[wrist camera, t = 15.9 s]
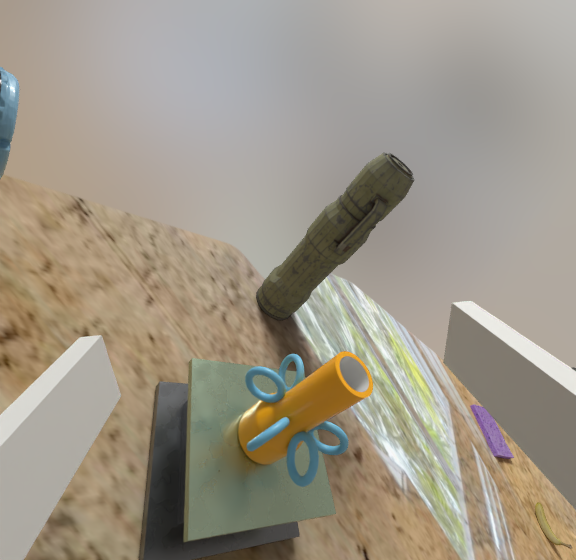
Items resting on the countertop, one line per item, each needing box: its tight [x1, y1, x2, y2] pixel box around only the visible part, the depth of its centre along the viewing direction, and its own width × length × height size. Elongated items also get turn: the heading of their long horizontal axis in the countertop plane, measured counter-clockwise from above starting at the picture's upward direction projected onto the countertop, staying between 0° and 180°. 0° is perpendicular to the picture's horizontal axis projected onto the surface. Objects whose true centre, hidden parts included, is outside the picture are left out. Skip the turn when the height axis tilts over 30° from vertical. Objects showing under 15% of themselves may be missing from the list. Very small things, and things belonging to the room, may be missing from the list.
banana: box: [535, 502, 572, 549], centre depth 67 cm, size 8×2×4 cm, turn 0°
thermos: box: [256, 153, 414, 320], centre depth 55 cm, size 9×12×35 cm
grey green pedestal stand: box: [139, 358, 336, 560], centre depth 37 cm, size 18×18×10 cm
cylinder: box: [238, 351, 373, 487], centre depth 30 cm, size 12×10×15 cm
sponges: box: [470, 405, 514, 459], centre depth 81 cm, size 7×13×2 cm, turn 4°
